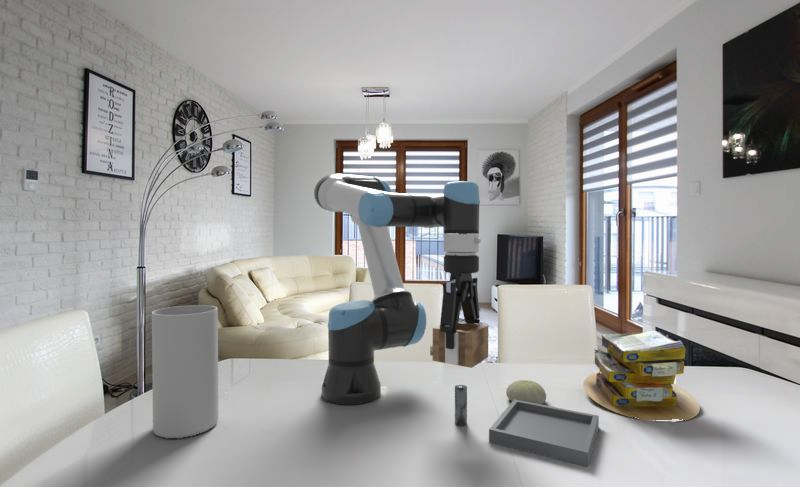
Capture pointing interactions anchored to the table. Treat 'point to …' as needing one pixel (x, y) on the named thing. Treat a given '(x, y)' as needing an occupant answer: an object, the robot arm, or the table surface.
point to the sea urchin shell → (526, 392)
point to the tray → (546, 431)
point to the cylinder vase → (184, 370)
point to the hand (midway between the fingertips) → (460, 357)
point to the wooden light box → (463, 344)
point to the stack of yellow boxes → (641, 377)
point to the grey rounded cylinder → (461, 405)
